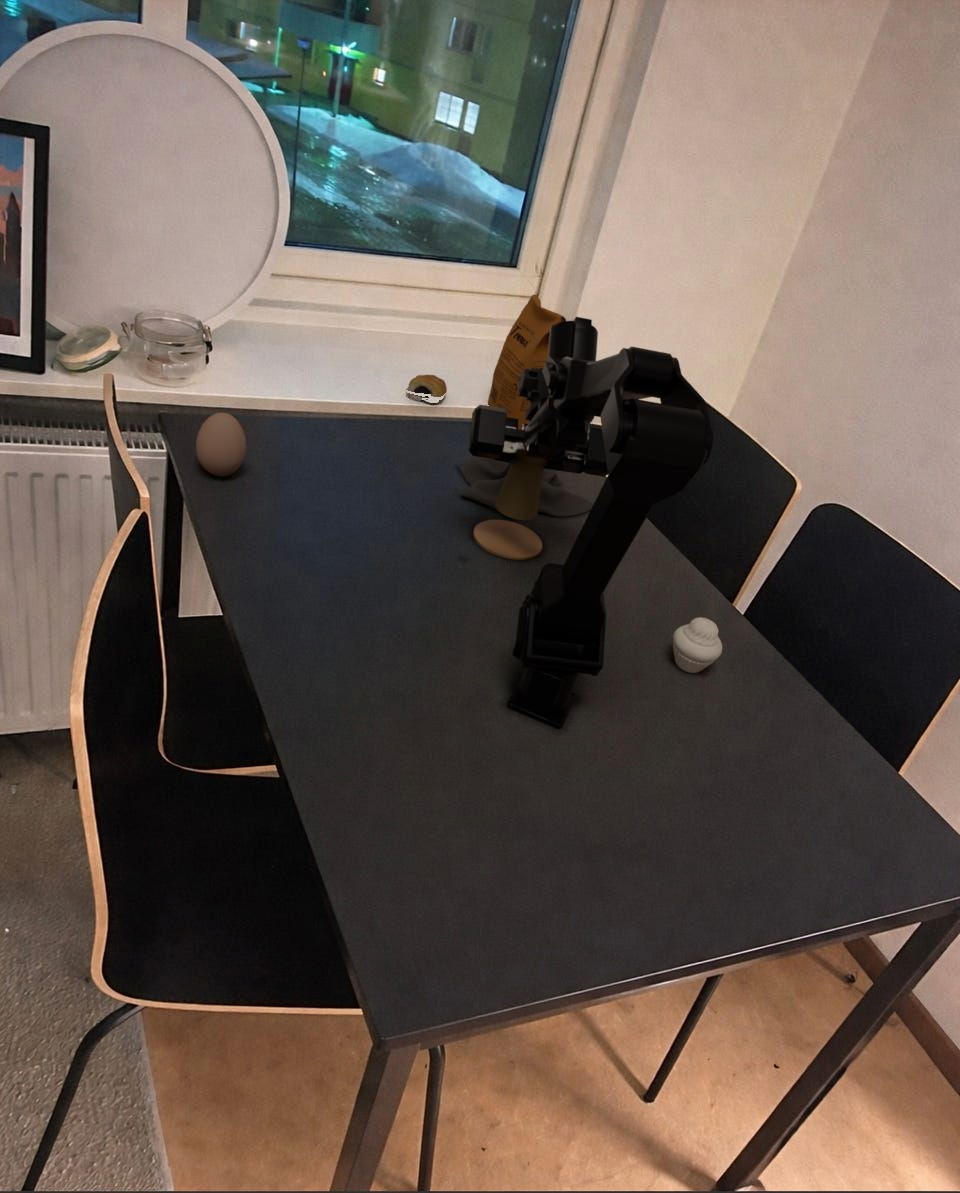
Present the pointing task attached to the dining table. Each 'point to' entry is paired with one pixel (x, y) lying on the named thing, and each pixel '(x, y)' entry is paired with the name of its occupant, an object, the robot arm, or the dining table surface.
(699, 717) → the dining table surface
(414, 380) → the pastry
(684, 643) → the muffin
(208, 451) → the egg
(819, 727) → the dining table surface
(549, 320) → the coffee package
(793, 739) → the dining table surface
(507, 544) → the cork coaster
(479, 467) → the cloth
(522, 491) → the pepper shaker
